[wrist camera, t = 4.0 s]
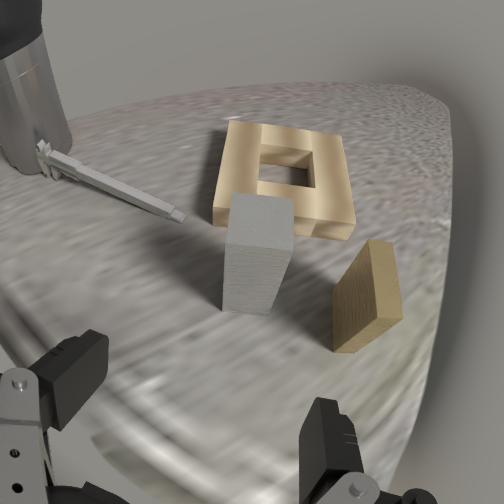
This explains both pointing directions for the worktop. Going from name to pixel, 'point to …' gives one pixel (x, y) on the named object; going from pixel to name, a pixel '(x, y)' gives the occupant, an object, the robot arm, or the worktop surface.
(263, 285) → the square bit
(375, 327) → the light brown wooden block
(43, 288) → the worktop surface
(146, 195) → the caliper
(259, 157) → the socket block
